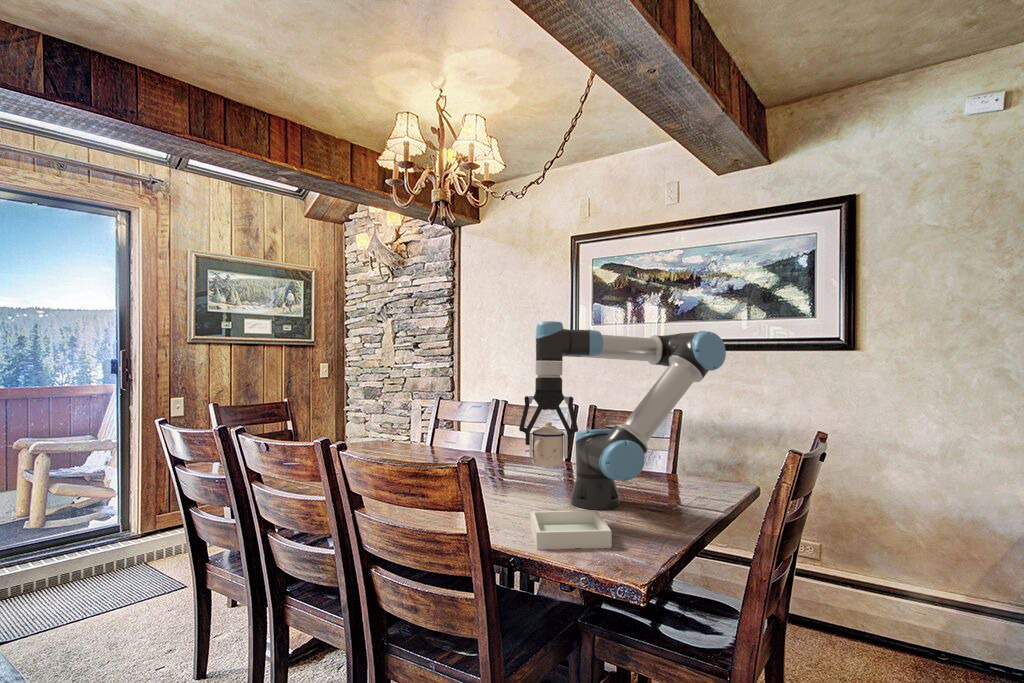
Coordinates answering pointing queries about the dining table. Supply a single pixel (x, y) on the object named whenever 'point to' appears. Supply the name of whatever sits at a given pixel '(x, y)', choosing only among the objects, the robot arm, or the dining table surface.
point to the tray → (570, 530)
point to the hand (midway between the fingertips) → (548, 457)
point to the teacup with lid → (548, 446)
